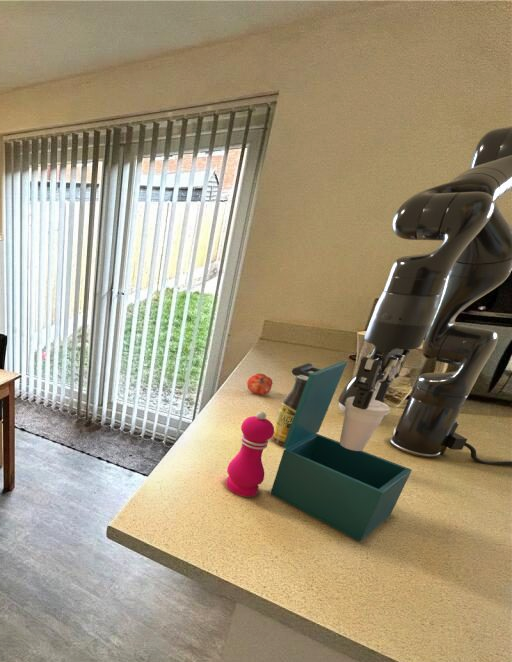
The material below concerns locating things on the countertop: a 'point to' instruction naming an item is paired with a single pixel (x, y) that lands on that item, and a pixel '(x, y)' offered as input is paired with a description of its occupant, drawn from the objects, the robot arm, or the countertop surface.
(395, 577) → the countertop surface
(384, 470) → the cool box
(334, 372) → the lid
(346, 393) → the black dome
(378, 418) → the smoothie
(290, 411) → the sauce bottle
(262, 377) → the tomato
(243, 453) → the pepper mill
